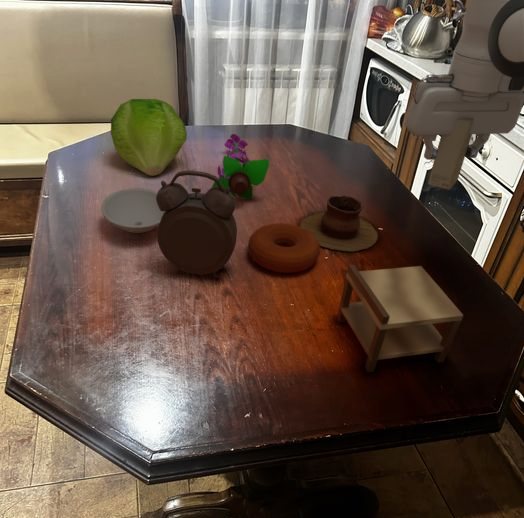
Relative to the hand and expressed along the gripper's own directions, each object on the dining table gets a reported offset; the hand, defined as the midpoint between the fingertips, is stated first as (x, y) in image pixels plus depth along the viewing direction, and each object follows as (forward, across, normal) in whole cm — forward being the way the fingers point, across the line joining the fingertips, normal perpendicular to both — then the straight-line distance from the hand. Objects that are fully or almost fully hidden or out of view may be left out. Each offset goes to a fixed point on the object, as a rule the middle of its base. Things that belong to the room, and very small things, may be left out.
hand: (450, 157), depth 94 cm
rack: (+23, -17, -22) cm, 36 cm away
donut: (+22, -28, +6) cm, 37 cm away
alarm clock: (+22, -46, +3) cm, 51 cm away
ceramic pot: (+23, -12, +15) cm, 30 cm away
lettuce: (+22, -51, +54) cm, 78 cm away
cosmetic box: (+5, 0, 0) cm, 5 cm away
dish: (+22, -56, +21) cm, 64 cm away
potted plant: (+22, -31, +45) cm, 58 cm away
